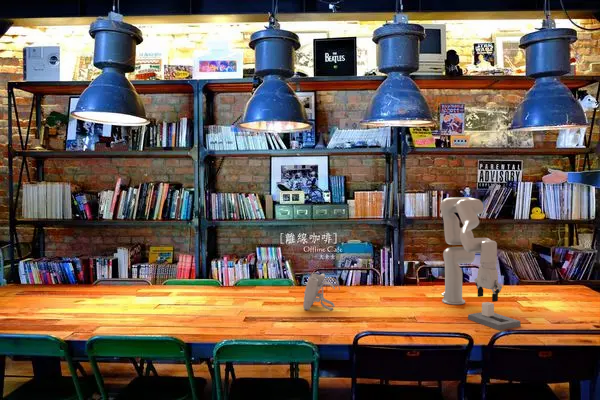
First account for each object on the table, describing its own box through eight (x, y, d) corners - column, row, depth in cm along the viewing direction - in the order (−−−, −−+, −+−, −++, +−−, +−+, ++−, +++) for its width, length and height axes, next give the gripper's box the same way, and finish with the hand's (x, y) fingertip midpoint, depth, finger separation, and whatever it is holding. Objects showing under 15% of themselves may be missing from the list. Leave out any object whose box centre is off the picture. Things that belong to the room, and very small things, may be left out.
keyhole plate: (468, 319, 253) (468, 314, 253) (489, 315, 259) (489, 311, 259) (498, 330, 235) (498, 324, 235) (520, 326, 241) (520, 321, 241)
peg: (481, 320, 251) (481, 302, 251) (487, 319, 253) (487, 301, 253) (487, 322, 248) (487, 304, 247) (493, 321, 249) (494, 303, 249)
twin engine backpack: (331, 318, 269) (340, 282, 267) (297, 308, 272) (306, 273, 270) (335, 309, 286) (343, 276, 284) (304, 300, 289) (312, 267, 287)
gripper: (470, 262, 255) (469, 295, 257) (496, 269, 240) (495, 304, 241) (481, 261, 259) (480, 294, 260) (507, 267, 243) (506, 302, 244)
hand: (487, 298), depth 250 cm, fingers open, 9 cm apart
